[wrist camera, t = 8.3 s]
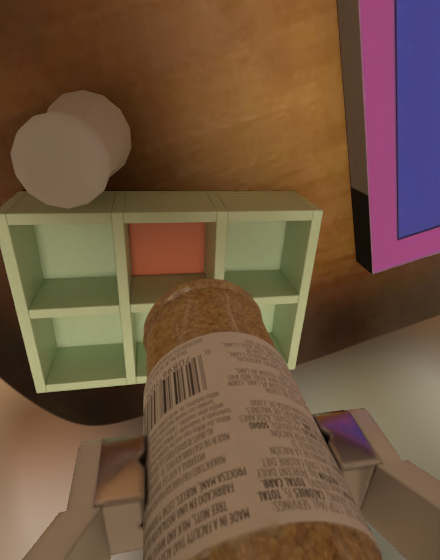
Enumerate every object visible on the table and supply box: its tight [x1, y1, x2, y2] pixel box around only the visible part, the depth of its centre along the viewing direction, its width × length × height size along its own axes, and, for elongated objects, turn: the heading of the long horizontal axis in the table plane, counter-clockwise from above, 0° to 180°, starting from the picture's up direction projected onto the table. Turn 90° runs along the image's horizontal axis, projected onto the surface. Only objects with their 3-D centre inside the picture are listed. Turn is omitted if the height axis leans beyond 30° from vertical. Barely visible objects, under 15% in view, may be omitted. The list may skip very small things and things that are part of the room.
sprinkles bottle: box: [143, 279, 382, 560], centre depth 8 cm, size 5×5×14 cm
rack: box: [0, 191, 323, 393], centre depth 32 cm, size 23×15×6 cm
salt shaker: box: [10, 90, 131, 209], centre depth 22 cm, size 6×6×13 cm
